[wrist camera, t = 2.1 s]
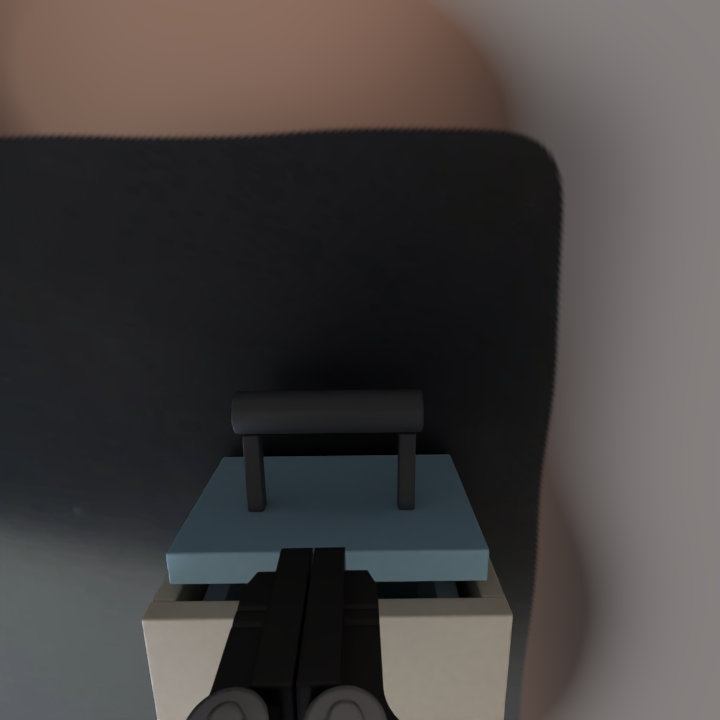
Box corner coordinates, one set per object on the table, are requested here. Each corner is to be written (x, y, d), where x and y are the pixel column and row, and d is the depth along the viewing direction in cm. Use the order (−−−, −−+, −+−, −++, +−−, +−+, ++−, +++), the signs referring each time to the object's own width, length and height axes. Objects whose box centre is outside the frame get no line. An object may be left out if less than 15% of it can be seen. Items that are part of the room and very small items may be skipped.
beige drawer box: (218, 479, 23) (140, 619, 15) (457, 477, 23) (513, 615, 15) (241, 712, 27) (189, 926, 19) (446, 709, 27) (486, 923, 19)
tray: (213, 360, 21) (146, 421, 14) (454, 357, 21) (499, 416, 14) (244, 688, 25) (205, 848, 19) (440, 685, 25) (469, 844, 19)
